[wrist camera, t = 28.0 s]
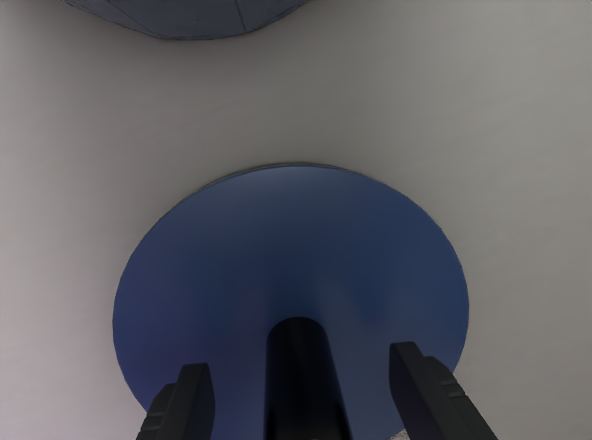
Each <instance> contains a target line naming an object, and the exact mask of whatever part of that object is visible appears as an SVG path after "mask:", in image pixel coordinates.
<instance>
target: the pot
mask: <svg viewBox="0 0 592 440" xmlns="http://www.w3.org/2000/svg"><path fill="white" fill-rule="evenodd" d="M62 1H64V2H66V3H67V4H69V5H71V6H73V7H76V8H79V9H82V10H84V11H87V12H90V13H92V14H95V15H97V16H100V17H102V18H104V19H106V20H109V21H111V22H113V23H115V24H118V25H120V26H122V27H125V28H129V29H132V30H135V31H139V32H142V33H145V34H149V35H152V36H155V37H160V38H173V39H179V40H209V39H216V38H223V37H231V36H235V35H239V34H242V33H246V32H249V31H252V30H256V29H259V28H261V27H263V26H265V25H268V24H270V23H272V22H274V21H276V20H278V19H280V18H283V17H284V16H286V15H287V14H289V13H290V12H292V11H293V10H295V9H297V8H298V7H300V6H301V5H303V4H304V3H306V2H307V1H308V0H62Z"/></svg>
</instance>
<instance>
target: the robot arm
mask: <svg viewBox="0 0 592 440" xmlns="http://www.w3.org/2000/svg"><path fill="white" fill-rule="evenodd" d="M389 387H390V392H391V395H392V398H393V401H394V403H395V406H396V408H397V410H398V413H399V415H400V417H401V420H402V422H403V424H404V427H405V429H406V431H407V434H408V436H409V438H410V440H498V439H497V437H496V436H495V434H494V433H493V432H492V430H491V429H490V427H489V426H488V424H487V423H486V422H485V420H484V419H483V417H482V416H481V414H480V413H479V412H478V410H477V409H476V407H475V406H474V404H473V403H472V402H471V400H470V399H469V397H468V396H466V395H465V392H464V390H463V389H462V387H461V386H460V385H459V384H458V383H457V380H456V379H455V377H454V376H453V375H452V373H451V372H450V370H449V369H448V367H447V366H445V365H444V364H443V363H441V362H440V361H439V360H438V359H436V358H435V357H434V356H426V357H424V356H423V354H422V353H421V351H420V350H419V348H418V346H417V345H416V343H415V342H413V341H408V342H399V343H391V344H390V348H389ZM214 419H215V396H214V390H213V385H212V380H211V375H210V370H209V365H208V363H207V362H204V363H195V364H186V365H183V366H182V368H181V371H180V374H179V376H178V379H177V382H176V383H171V384H166V385H165V386H164V387H163V388H162V389H161V390H160V392H159V393H158V394H157V395H156V396H155V397H154V399H153V401H152V403H151V406H150V408H149V410H148V413H147V417H146V418H145V420H144V422H143V424H142V427H141V431H140V432H139V434H138V436H137V438H136V440H210V439H211V434H212V429H213V424H214Z"/></svg>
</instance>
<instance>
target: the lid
mask: <svg viewBox="0 0 592 440" xmlns="http://www.w3.org/2000/svg"><path fill="white" fill-rule="evenodd" d="M468 317H469V301H468V292H467V285H466V281H465V277H464V274H463V270H462V266H461V264H460V262H459V259H458V257H457V255H456V253H455V251H454V248H453V246H452V245H451V243H450V242H449V240H448V239H447V237H446V236H445V234H444V233H443V231H442V230H441V228H440V227H439V226H438V225H437V224H436V223H435V222H434V221H433V219H432V218H431V217H430V216H429V215H428V214H427V213H426V212H425V211H424V210H423V209H421V208H420V207H419V206H418V205H416V204H415V203H414V202H413V201H411V200H410V199H409V198H408V197H406V196H405V195H403V194H401V193H399V192H398V191H396V190H394V189H393V188H391V187H389V186H388V185H386V184H384V183H382V182H380V181H378V180H375V179H373V178H370V177H368V176H365V175H363V174H361V173H357V172H353V171H350V170H346V169H342V168H338V167H333V166H325V165H316V164H279V165H272V166H265V167H258V168H254V169H250V170H247V171H243V172H240V173H236V174H233V175H229V176H227V177H225V178H222V179H220V180H218V181H216V182H213V183H211V184H209V185H206V186H205V187H203V188H201V189H200V190H198V191H196V192H195V193H193V194H191V195H190V196H188V197H187V198H185V199H183V200H182V201H181V202H180V203H178V204H177V205H176V206H175V207H174V208H172V209H171V210H170V211H169V212H168V213H166V214H165V215H164V216H163V217H162V218H160V220H159V221H158V222H157V223H156V224H155V225H154V226H153V227H152V228H151V229H150V231H149V232H148V233H147V234H146V235H145V236H144V237H143V239H142V240H141V242H140V243H139V245H138V246H137V248H136V249H135V251H134V252H133V254H132V255H131V257H130V259H129V261H128V263H127V265H126V268H125V270H124V272H123V274H122V276H121V279H120V282H119V286H118V290H117V293H116V297H115V302H114V311H113V321H112V322H113V340H114V346H115V350H116V355H117V360H118V363H119V366H120V368H121V371H122V373H123V376H124V378H125V381H126V382H127V384H128V386H129V388H130V389H131V391H132V393H133V395H134V396H135V398H136V399H137V400H138V402H139V403H140V404H141V405H142V407H143V408H144V409H145V411H146V412H147V413H148V410H149V408H150V406H151V403H152V401H153V399H154V397H155V396H156V395H157V394H158V393H159V392H160V390H161V389H162V388H163V387H164V386H165V385H166V384H171V383H176V382H177V379H178V376H179V374H180V371H181V368H182V366H183V365H186V364H195V363H204V362H207V363H208V365H209V370H210V375H211V380H212V385H213V390H214V396H215V419H214V424H213V429H212V434H211V439H210V440H388V439H390V438H391V437H393V436H394V435H396V434H398V433H399V432H400V431H402V430H403V429H404V428H405V427H404V424H403V422H402V420H401V417H400V415H399V413H398V410H397V408H396V406H395V403H394V401H393V398H392V395H391V392H390V387H389V348H390V344H391V343H399V342H408V341H413V342H415V343H416V345H417V346H418V348H419V350H420V351H421V353H422V354H423V356H424V357H426V356H434V357H435V358H436V359H438V360H439V361H440V362H441V363H443V364H444V365H445V366H447V367H448V369H449V370H450V372H451V373H453V371H454V369H455V367H456V365H457V363H458V361H459V358H460V355H461V353H462V350H463V347H464V344H465V339H466V334H467V328H468Z"/></svg>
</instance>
